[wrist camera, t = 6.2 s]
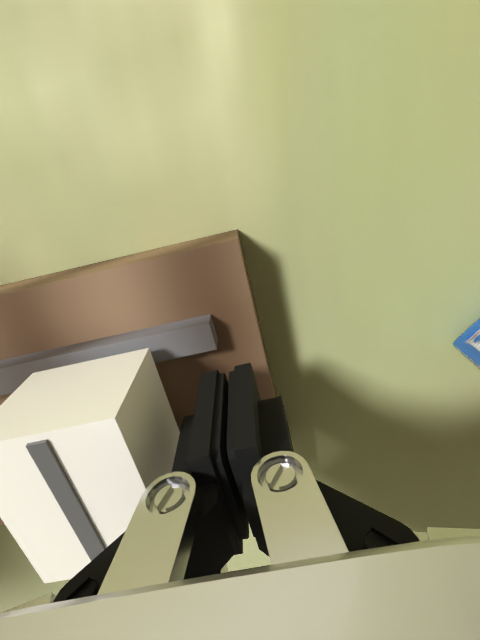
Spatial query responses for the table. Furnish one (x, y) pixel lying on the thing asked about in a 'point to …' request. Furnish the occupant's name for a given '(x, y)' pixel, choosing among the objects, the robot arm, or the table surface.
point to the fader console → (140, 318)
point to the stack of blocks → (470, 343)
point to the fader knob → (81, 457)
